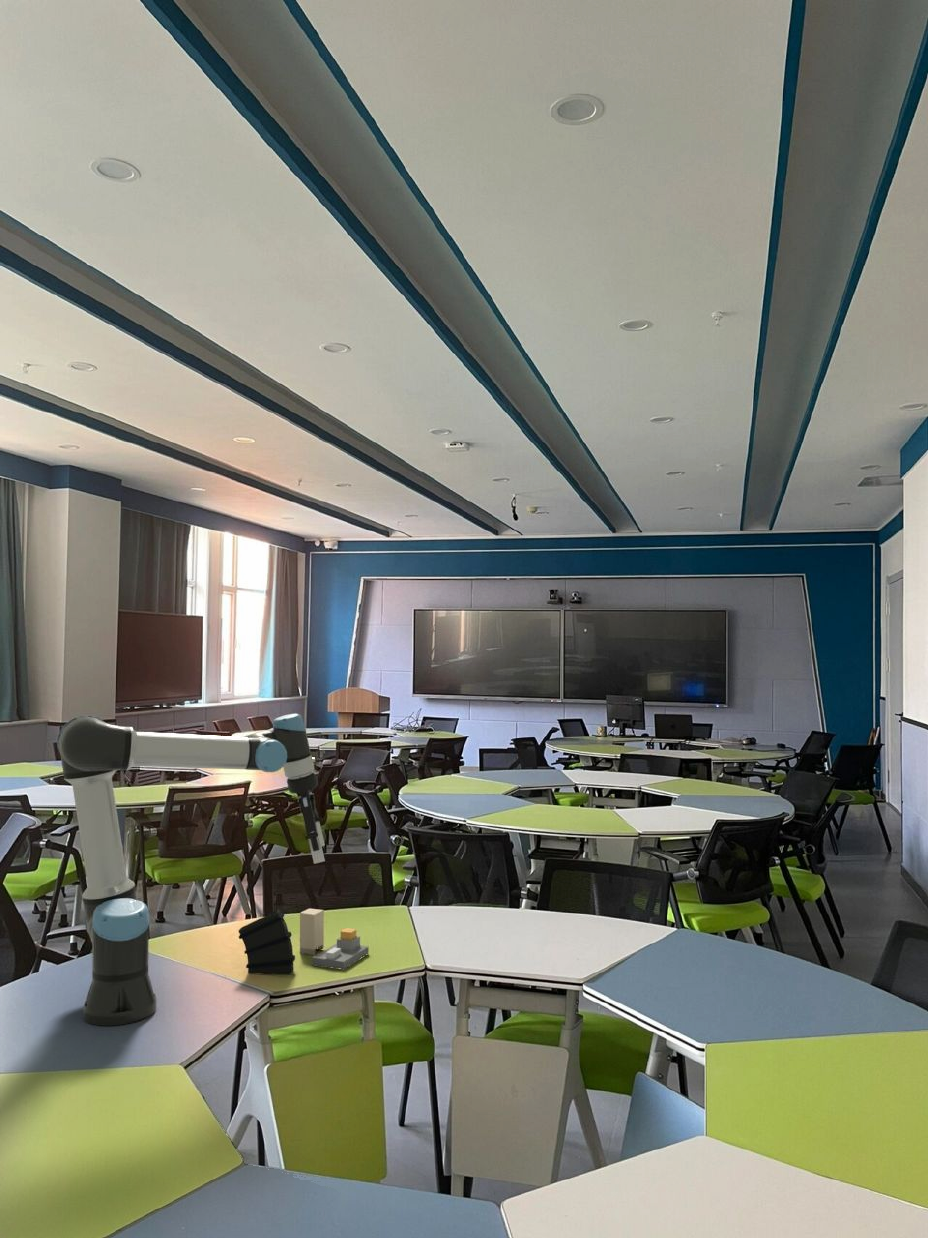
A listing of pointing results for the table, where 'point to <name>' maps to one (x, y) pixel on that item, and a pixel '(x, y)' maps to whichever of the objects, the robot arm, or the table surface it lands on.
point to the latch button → (348, 934)
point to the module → (311, 930)
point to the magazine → (268, 945)
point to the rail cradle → (341, 954)
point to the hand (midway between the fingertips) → (319, 854)
